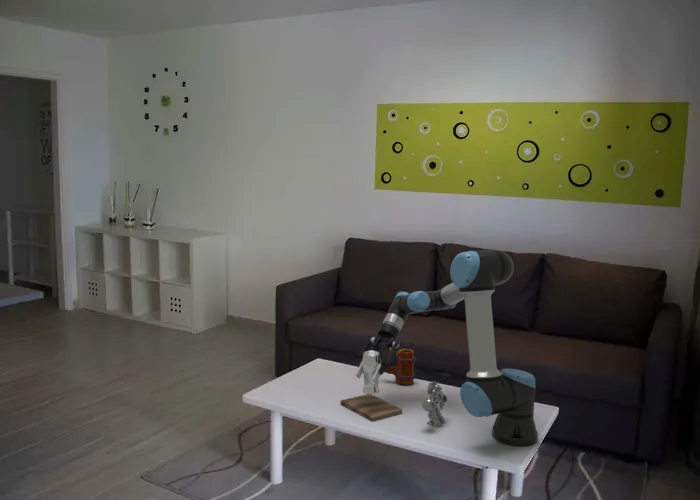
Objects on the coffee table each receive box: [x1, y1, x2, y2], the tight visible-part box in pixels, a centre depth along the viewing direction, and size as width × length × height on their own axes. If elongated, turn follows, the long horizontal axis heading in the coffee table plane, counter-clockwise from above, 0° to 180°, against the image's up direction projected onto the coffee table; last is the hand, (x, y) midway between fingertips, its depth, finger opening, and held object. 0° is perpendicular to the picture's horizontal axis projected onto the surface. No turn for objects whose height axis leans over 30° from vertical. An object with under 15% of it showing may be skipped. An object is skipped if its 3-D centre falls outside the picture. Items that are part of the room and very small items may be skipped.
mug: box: [381, 347, 417, 386], centre depth 271 cm, size 15×8×15 cm, turn 84°
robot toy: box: [421, 380, 448, 428], centre depth 228 cm, size 15×6×15 cm, turn 148°
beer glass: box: [362, 350, 382, 395], centre depth 241 cm, size 7×7×15 cm
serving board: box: [340, 393, 403, 422], centre depth 242 cm, size 20×14×2 cm
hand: (365, 378), depth 238 cm, fingers closed on beer glass, 7 cm apart
